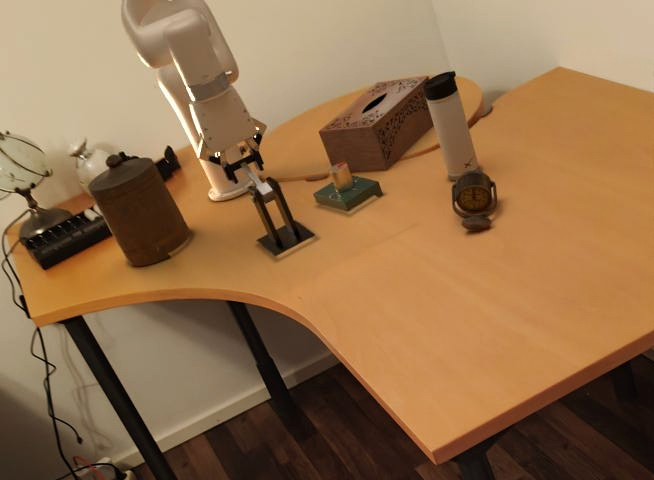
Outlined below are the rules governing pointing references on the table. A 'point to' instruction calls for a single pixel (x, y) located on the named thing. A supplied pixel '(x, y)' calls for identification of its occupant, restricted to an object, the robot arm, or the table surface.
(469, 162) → the travel mug
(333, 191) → the dial panel
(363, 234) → the table surface
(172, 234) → the wooden container
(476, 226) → the vintage desk clock
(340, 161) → the tissue box cover
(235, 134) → the robot arm
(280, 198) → the black lever stand
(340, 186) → the knob
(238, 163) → the press lever
